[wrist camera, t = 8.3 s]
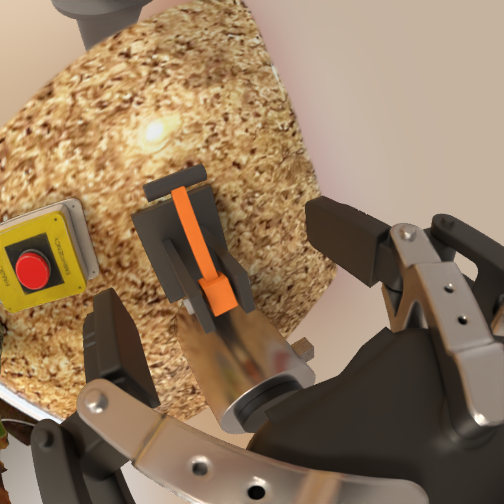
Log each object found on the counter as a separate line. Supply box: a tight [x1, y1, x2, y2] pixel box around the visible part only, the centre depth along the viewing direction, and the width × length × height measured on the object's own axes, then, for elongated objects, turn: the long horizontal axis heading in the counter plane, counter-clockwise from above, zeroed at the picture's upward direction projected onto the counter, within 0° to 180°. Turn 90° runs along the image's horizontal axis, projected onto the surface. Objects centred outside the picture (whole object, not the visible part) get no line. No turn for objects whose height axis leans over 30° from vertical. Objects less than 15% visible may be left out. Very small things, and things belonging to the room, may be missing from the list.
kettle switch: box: [143, 164, 238, 316], centre depth 22 cm, size 12×5×2 cm, turn 12°
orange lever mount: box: [131, 184, 256, 334], centre depth 27 cm, size 12×9×12 cm
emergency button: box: [0, 198, 99, 313], centre depth 20 cm, size 9×4×15 cm
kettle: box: [174, 290, 315, 434], centre depth 33 cm, size 14×14×17 cm
